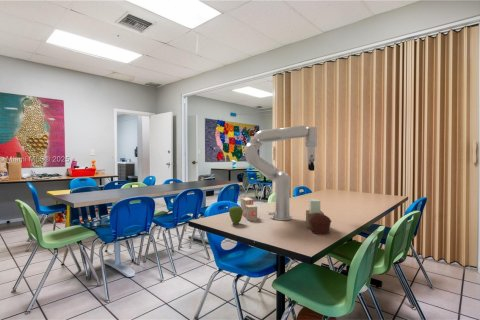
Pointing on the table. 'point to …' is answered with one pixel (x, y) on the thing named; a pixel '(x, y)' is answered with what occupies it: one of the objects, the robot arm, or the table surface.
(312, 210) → the sage block
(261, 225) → the table surface
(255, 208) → the stack of blocks
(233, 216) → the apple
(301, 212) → the table surface
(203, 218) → the table surface
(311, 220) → the muffin
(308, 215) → the riser box
